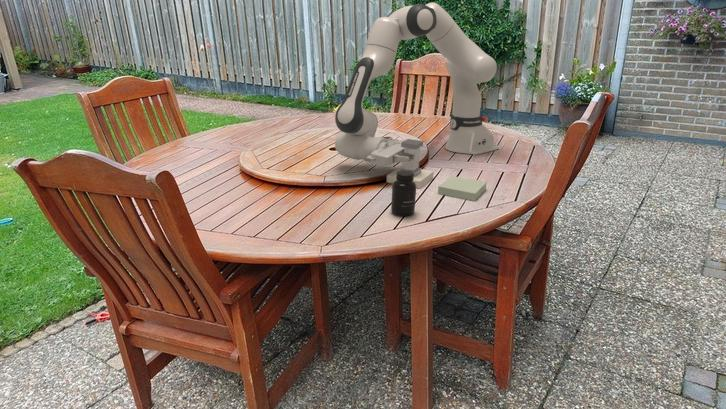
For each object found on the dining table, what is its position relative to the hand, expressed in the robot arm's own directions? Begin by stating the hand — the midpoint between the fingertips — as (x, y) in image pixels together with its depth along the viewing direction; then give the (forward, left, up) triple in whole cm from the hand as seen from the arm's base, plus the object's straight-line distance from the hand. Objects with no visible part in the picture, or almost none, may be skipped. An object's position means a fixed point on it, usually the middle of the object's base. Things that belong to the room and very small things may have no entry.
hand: (413, 156), depth 163 cm
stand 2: (-9, +15, -9) cm, 20 cm away
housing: (+1, -1, -6) cm, 6 cm away
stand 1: (+1, -1, -9) cm, 9 cm away
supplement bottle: (+17, +22, -9) cm, 29 cm away
